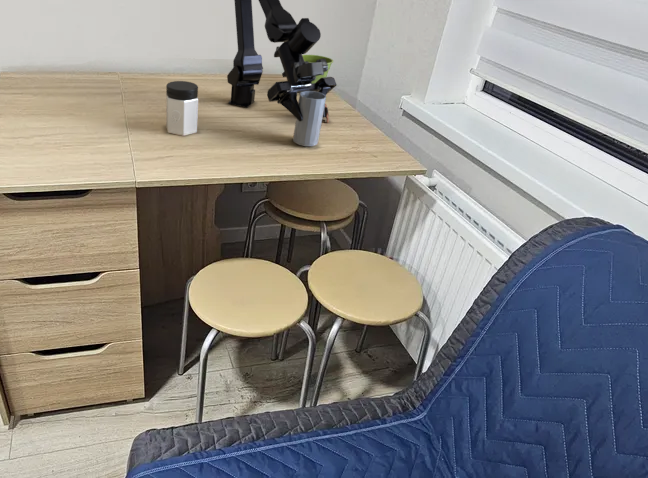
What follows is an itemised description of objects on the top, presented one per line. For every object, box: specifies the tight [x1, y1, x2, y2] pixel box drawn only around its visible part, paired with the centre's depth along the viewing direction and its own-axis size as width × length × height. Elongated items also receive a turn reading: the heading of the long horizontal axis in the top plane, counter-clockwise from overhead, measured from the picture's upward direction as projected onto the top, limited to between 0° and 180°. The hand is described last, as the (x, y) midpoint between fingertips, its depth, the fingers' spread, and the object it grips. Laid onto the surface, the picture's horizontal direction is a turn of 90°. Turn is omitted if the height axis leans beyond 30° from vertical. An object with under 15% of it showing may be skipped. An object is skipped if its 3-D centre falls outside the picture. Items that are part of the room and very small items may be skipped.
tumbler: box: [292, 91, 327, 147], centre depth 135 cm, size 7×7×12 cm
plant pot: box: [302, 54, 334, 83], centre depth 175 cm, size 12×12×11 cm
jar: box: [165, 80, 199, 137], centre depth 137 cm, size 9×8×12 cm
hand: (312, 119), depth 134 cm, fingers closed on tumbler, 7 cm apart
